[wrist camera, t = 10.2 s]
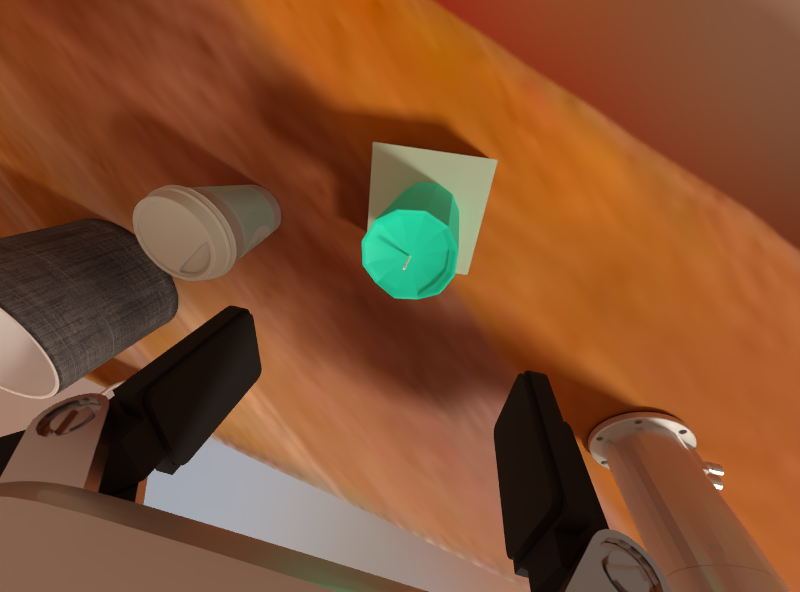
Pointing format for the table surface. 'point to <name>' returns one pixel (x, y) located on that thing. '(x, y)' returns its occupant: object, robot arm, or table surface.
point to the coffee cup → (203, 227)
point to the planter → (74, 303)
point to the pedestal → (450, 170)
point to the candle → (414, 243)
